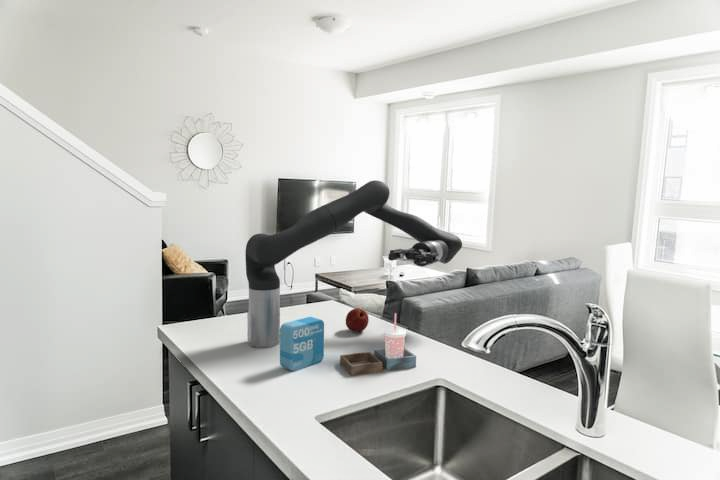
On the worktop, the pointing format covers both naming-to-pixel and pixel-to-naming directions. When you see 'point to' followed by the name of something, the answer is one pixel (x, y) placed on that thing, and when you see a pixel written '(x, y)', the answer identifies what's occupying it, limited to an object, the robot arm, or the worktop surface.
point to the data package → (301, 343)
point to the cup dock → (376, 362)
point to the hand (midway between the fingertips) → (402, 258)
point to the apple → (357, 320)
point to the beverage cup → (394, 341)
